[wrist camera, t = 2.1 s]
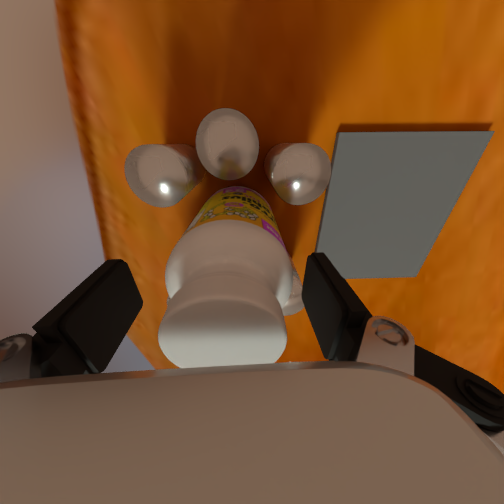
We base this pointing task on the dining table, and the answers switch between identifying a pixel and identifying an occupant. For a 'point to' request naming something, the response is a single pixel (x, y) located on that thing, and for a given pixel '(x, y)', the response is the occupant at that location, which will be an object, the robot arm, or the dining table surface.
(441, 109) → the dining table surface
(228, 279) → the supplement bottle
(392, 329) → the robot arm
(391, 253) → the rubber mat
